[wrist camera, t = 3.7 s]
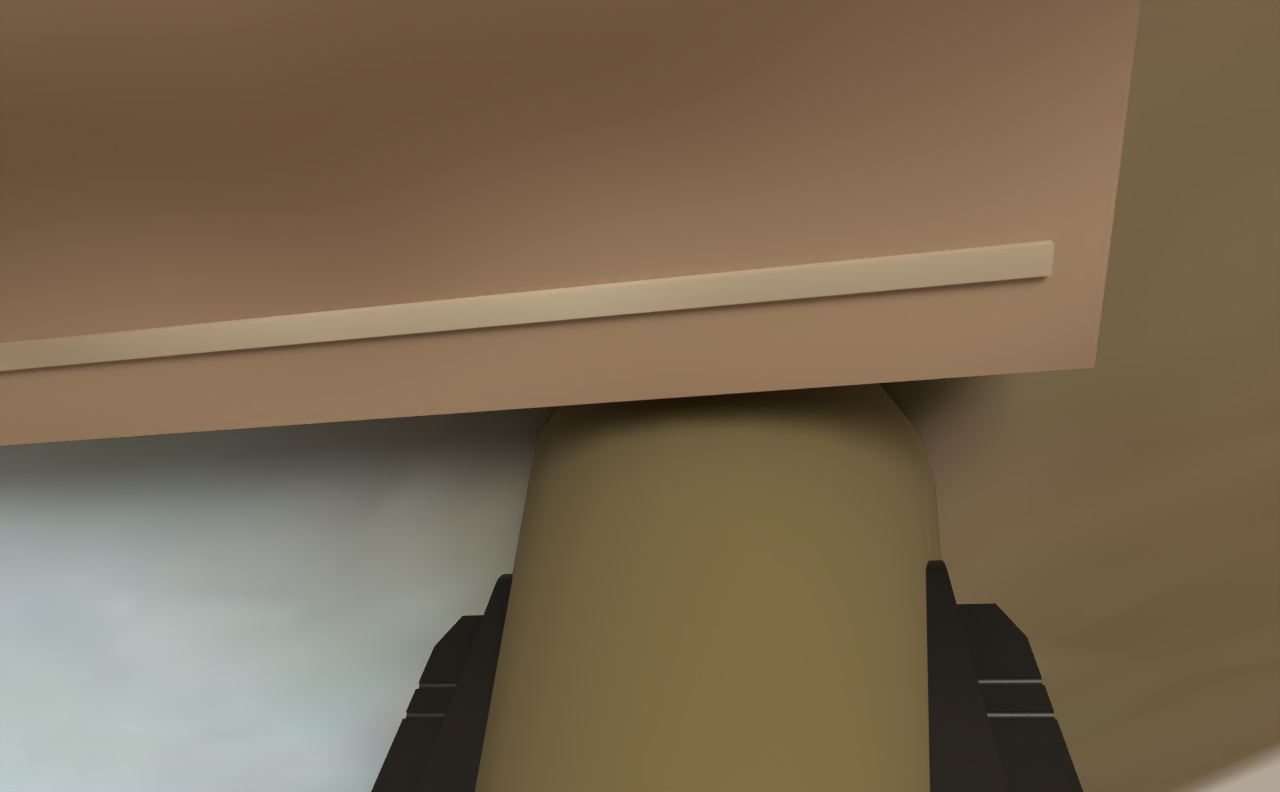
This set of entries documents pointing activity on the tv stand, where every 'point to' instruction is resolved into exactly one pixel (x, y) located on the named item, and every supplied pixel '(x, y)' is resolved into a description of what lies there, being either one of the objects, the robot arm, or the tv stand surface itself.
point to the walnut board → (540, 202)
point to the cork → (719, 600)
